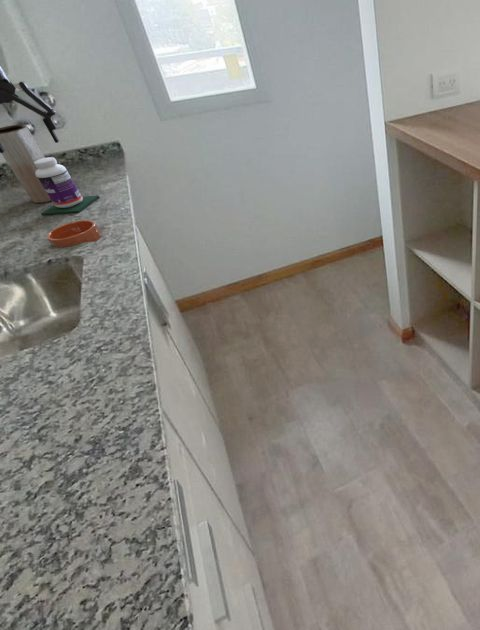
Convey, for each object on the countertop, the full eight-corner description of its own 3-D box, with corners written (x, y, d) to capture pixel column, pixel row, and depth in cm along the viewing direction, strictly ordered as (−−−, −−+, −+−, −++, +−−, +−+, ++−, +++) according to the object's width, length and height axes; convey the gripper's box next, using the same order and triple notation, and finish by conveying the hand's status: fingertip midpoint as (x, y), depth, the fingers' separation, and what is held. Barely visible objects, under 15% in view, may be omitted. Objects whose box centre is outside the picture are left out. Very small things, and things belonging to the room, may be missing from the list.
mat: (42, 215, 140) (40, 213, 139) (65, 200, 149) (64, 198, 149) (78, 213, 139) (77, 210, 139) (99, 197, 149) (98, 195, 148)
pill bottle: (52, 206, 143) (24, 162, 134) (77, 197, 148) (52, 154, 139) (62, 211, 139) (34, 166, 130) (88, 201, 144) (63, 157, 135)
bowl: (44, 253, 119) (36, 241, 117) (70, 232, 128) (64, 221, 126) (86, 249, 118) (79, 238, 116) (109, 229, 128) (103, 218, 126)
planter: (29, 205, 147) (-17, 135, 133) (36, 195, 155) (-7, 128, 141) (63, 198, 150) (21, 129, 136) (69, 189, 158) (29, 122, 143)
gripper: (-82, 74, 110) (-24, 159, 123) (35, 59, 119) (78, 140, 132) (-74, 71, 115) (-19, 153, 128) (38, 57, 125) (79, 135, 138)
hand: (30, 146), depth 130 cm, fingers open, 13 cm apart
